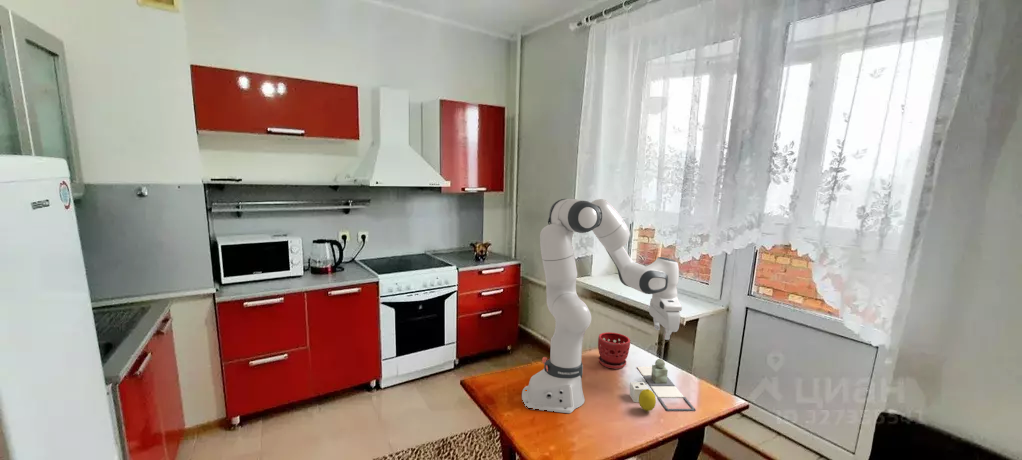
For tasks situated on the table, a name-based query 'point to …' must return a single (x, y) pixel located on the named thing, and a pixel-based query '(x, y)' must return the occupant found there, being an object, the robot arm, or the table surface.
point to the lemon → (647, 400)
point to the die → (636, 390)
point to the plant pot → (613, 350)
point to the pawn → (659, 372)
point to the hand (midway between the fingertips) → (661, 334)
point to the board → (664, 389)
